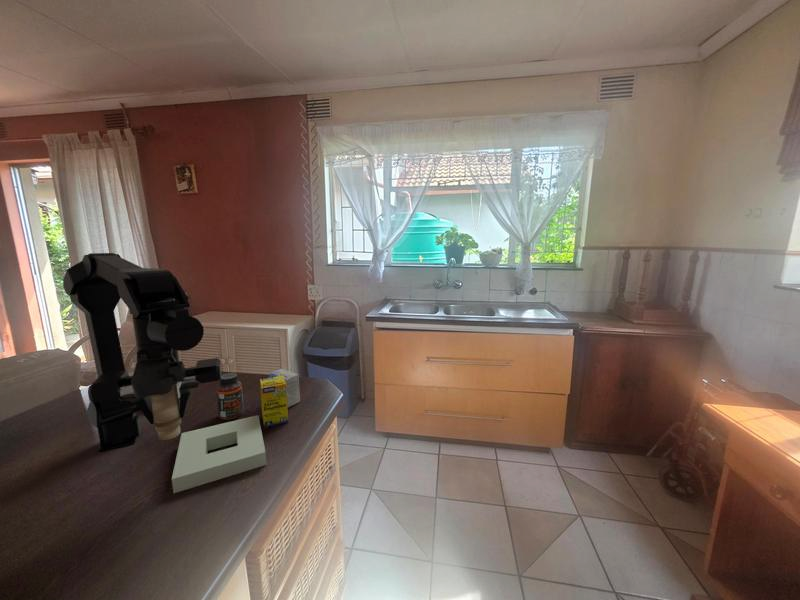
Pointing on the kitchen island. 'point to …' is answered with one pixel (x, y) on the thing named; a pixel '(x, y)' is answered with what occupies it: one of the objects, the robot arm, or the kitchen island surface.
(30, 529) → the kitchen island surface
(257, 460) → the socket plate
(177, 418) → the wooden peg
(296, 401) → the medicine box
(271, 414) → the supplement box
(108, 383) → the robot arm
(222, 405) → the supplement bottle
